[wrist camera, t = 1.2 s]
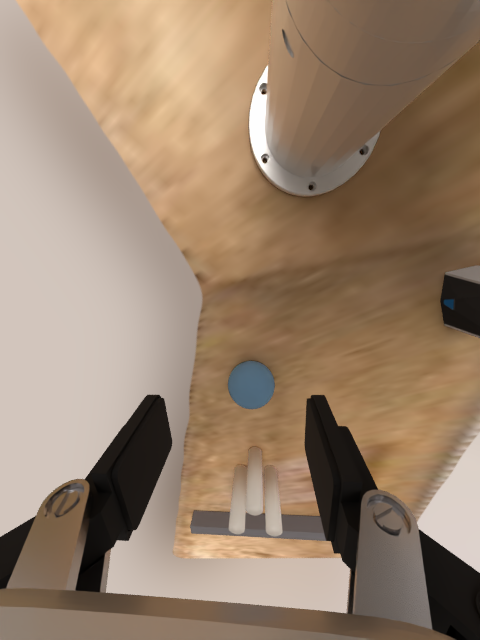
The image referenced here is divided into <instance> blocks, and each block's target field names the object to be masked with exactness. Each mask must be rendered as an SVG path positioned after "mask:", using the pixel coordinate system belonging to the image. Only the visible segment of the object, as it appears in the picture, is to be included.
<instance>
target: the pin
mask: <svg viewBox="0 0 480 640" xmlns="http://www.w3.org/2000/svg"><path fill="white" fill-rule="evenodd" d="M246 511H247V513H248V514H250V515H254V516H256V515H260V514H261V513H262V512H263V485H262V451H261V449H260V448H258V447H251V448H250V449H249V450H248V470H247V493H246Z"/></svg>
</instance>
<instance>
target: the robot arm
mask: <svg viewBox="0 0 480 640" xmlns="http://www.w3.org/2000/svg"><path fill="white" fill-rule="evenodd" d="M479 40H480V0H272V11H271V28H270V44H269V61H268V65H267V66H266V67H265V69H264V71H263V73H262V75H261V76H260V78H259V80H258V82H257V85H256V88H255V90H254V93H253V96H252V101H251V106H250V111H249V139H250V144H251V149H252V153H253V156H254V158H255V161H256V163H257V165H258V167H259V169H260V170H261V172H262V174H263V175H264V176H265V177H266V178H267V179H268V180H269V182H270V183H271V184H273V185H274V186H276V187H277V188H278V189H280V190H282V191H284V192H286V193H289V194H291V195H296V196H301V197H302V196H316V195H321V194H325V193H327V192H329V191H332V190H334V189H336V188H337V187H339V186H341V185H342V184H344V183H345V182H346V181H348V180H349V179H350V178H351V177H352V176H354V175H355V174H356V173H357V172H358V170H359V169H360V168H361V167H362V166H363V165H364V164H365V162H366V161H367V159H368V158H369V156H370V155H371V153H372V151H373V149H374V147H375V145H376V142H377V140H378V138H379V135H380V131H381V129H382V128H383V127H385V126H386V125H387V124H388V123H389V122H390V121H391V120H392V119H393V118H395V117H396V116H397V115H398V114H399V113H400V112H401V111H402V110H403V109H405V108H406V107H407V106H408V105H409V104H410V103H411V102H412V101H413V100H414V99H416V98H417V97H418V96H419V95H420V94H421V93H422V92H423V91H424V90H426V89H427V88H428V87H429V86H430V85H431V84H432V83H433V82H434V81H436V80H437V79H438V78H439V77H440V76H441V75H442V74H443V73H444V72H445V71H447V70H448V69H449V68H450V67H451V66H452V65H453V64H454V63H455V62H457V61H458V60H459V59H460V58H461V57H462V56H463V55H464V54H465V53H467V52H468V51H469V50H470V49H471V48H472V47H473V46H474V45H475V44H476V43H478V41H479ZM262 92H265V93H266V94H265V95H262V94H261V93H262ZM359 151H362V155H361V154H360V153H359ZM263 159H266V160H267V163H265V164H264V163H263V162H262V160H263ZM310 185H311V186H312V187H313V189H312V190H309V189H308V187H309V186H310ZM171 446H172V438H171V432H170V428H169V422H168V417H167V412H166V406H165V401H164V399H163V398H161V397H160V395H147V396H146V397H145V398H144V400H143V401H142V402H141V404H140V405H139V406H138V408H137V409H136V411H135V412H134V413H133V415H132V416H131V418H130V419H129V420H128V422H127V423H126V424H125V425H124V426H123V428H122V429H121V430H120V431H119V433H118V434H117V436H116V437H115V438H114V440H113V441H112V443H111V444H110V445H109V447H108V448H107V449H106V451H105V452H104V454H103V455H102V457H101V458H100V459H99V460H98V462H97V463H96V465H95V466H94V468H93V469H92V470H91V471H90V473H89V474H88V476H87V477H86V478H85V480H84V479H75V480H71V481H69V482H66V483H64V484H62V485H61V486H59V487H58V488H56V489H55V490H54V491H53V492H51V493H50V494H49V495H48V496H47V498H46V499H45V500H44V501H43V503H42V504H41V506H40V508H39V510H38V512H37V515H36V516H35V517H33V518H32V519H30V520H28V521H27V522H25V523H23V524H22V525H20V526H18V527H17V528H15V529H13V530H11V531H10V532H8V533H6V534H5V535H3V536H1V537H0V640H480V573H479V572H477V571H476V570H474V569H473V568H472V567H471V566H469V565H468V564H466V563H465V562H464V561H462V560H461V559H459V558H458V557H457V556H455V555H454V554H452V553H451V552H450V551H448V550H447V549H445V548H444V547H443V546H441V545H440V544H439V543H437V542H436V541H434V540H433V539H432V538H430V537H429V536H427V535H426V534H424V533H423V532H422V531H421V530H419V529H418V525H417V522H416V519H415V517H414V515H413V514H412V512H411V510H410V509H409V508H408V507H407V506H406V505H405V504H404V502H402V501H401V500H400V499H398V498H397V497H396V496H394V495H392V494H390V493H388V492H386V491H382V490H378V488H377V486H376V484H375V482H374V480H373V478H372V476H371V474H370V472H369V470H368V468H367V466H366V464H365V461H364V459H363V457H362V455H361V453H360V451H359V449H358V447H357V445H356V443H355V441H354V439H353V437H352V435H351V433H350V431H349V429H348V428H347V427H346V426H338V425H337V423H336V420H335V418H334V416H333V413H332V411H331V409H330V407H329V404H328V402H327V400H326V397H325V396H324V395H311V398H307V406H306V426H305V451H306V456H307V460H308V465H309V469H310V473H311V478H312V482H313V487H314V491H315V495H316V500H317V504H318V509H319V513H320V517H321V522H322V526H323V531H324V535H325V538H326V541H331V542H332V547H333V551H334V553H340V554H341V557H342V561H343V562H344V563H345V564H346V565H347V566H348V567H349V568H350V579H349V590H348V602H347V614H346V613H337V612H328V611H319V610H318V611H317V610H308V609H295V608H284V607H273V606H262V605H250V604H240V603H228V602H215V601H203V600H191V599H179V598H166V597H153V596H141V595H128V594H113V593H106V585H107V577H108V568H109V561H110V552H111V548H112V547H114V545H115V543H116V541H117V540H124V541H128V540H129V538H130V536H131V534H132V531H133V530H136V529H137V528H138V526H139V524H140V521H141V519H142V517H143V514H144V512H145V509H146V507H147V505H148V502H149V500H150V498H151V495H152V493H153V490H154V488H155V486H156V483H157V481H158V478H159V476H160V474H161V471H162V469H163V466H164V464H165V462H166V459H167V457H168V454H169V452H170V450H171Z"/></svg>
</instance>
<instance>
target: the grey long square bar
mask: <svg viewBox="0 0 480 640" xmlns="http://www.w3.org/2000/svg"><path fill="white" fill-rule="evenodd" d="M229 519H230V512H214V511H194V512H193V516H192V521H191V525H190V528H191V533H194V534H212V535H230V536H248V537H266V538H284V539H302V540H320V541H326V538H325V535H324V531H323V526H322V522H321V517H320V516H299V515H281V519H282V531H283V532H282V534H281V535H279V536H270V535H268V534H267V533H266V518H265V514H260V515H256V516H254V515H250V514H248V513H246V515H245V531H244V533H242V534H234V533H231V532H230V531H229Z"/></svg>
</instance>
